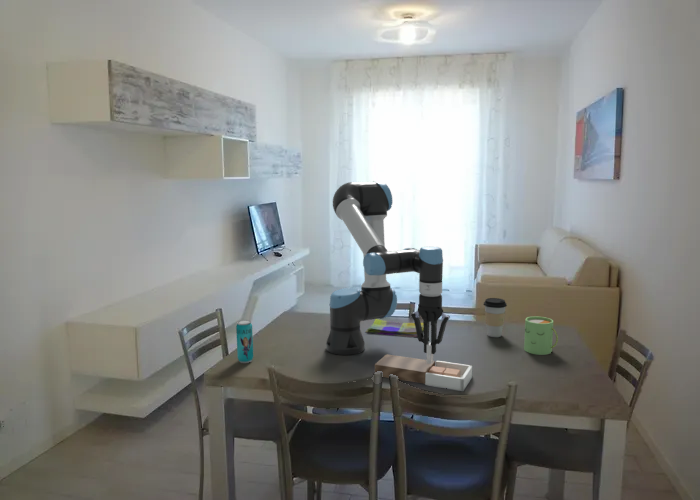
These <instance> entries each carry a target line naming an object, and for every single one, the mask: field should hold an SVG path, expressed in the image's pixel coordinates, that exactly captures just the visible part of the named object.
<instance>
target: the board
mask: <svg viewBox="0 0 700 500" xmlns="http://www.w3.org/2000/svg"><path fill="white" fill-rule="evenodd" d="M426 361H427V359H422V358H416V357H415V358H414V357H410V356H409V357H407V356H402V355H401V356H400V355H396V354H395V355H394V354H387V353H386V354H385V355H384V356H383V357H382V358H381V359H379V360H378V361H377V362H375V364H374V373H375V372H377V371H382V372H383V377H382V378H387V379H390V378H389V375H390V374H393V375H396V376H398V378H399V379H400V381H406V382H413V383H418V384H423V385H425V377H426V372H427V373H429V370H430V369H431V367H432V366H436V361H435V360H433V362H432V363H431V364H427V363H426ZM399 379H398V380H399Z"/></svg>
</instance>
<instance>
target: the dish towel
mask: <svg viewBox="0 0 700 500" xmlns="http://www.w3.org/2000/svg"><path fill="white" fill-rule="evenodd" d="M420 323H421V327H422V331H423V332H424V324H423V322H420ZM365 333H368V334H376V335H385V336H395V337H405V338H406V337H407V338H413V337H414V338H418V336H417V332H416V327H415V323H414V322H399V321H393V320H383V319H380V318H379V319H374V321H373V323H372V324H371V325H370V327H368V328H367V329H366V331H365Z"/></svg>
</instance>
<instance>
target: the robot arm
mask: <svg viewBox="0 0 700 500" xmlns="http://www.w3.org/2000/svg"><path fill="white" fill-rule="evenodd" d="M392 206H393V194H392V192H391V189H390V187H389V186H388V185H387V183H385V182H383V181H374V180H373V181H360V182H359V181H358V182H357V181H356V182H354V181H353V182H352V181H350V182H345V183H344V184H342V185H340V186H339V187H338V188H337V189H336V191H335V192H334V194H333V198H332V208H333V211H334V213H335V215H336V216H337V218H338V219H339V220H342V221H343V223H344V224H345V226H346V228H347V229H348V232H349V233H350V235H351V236H352V237H353V239H354V240H355V243H356V244H357V246H358V248H359V249H360V250H361V253H362V254H363V260H362V264H363V265H362V266H363V271H364V272H363V273H364V282H363V283H362V284H361V286H360V289H359V288H357V287H345V288H344V287H343V288H339V289H337V290H334V291H333V292H332V293H331V294H330V297H329V319H330V321H329V322H330V323H329V324H330V325H329V328H330V329H329V332H328V336H327V338H326V339H327V340H326V343H325V350H326V351H327V352H328V353H330V354H334V355H340V356H341V355H342V356H348V355H356V354H359V353H362V352H363V351H364V350H365V348H366V347H365V346H366V345H365V344H366V343H365V340H364V337H363V334H362V331H361V322H364V321H369V320H375V319H379V320H383V319H384V318H389V317H392V315H394V313H395V312H396V309H397V306H398V297H397V294H396V293H397V292H396V290H395V289H394V288H393V287H391V283H390V282H388V280H387V275H391V274H392V275H393V274H403V273H411V272H413V273H418V274H419V275H418V278H419V279H418V280H419V281H418V282H419V283H418V284H419V285H418V286H419V287H418V291H419V295H418V308H417V310H416V311H413V312H412V313H411V314H410V316H411V318H412V320H413V323H415V327H416V332H417V336H418V337H417V339H418V341H419V343H420V342H421V343H423V352H424V354H426V360H427V361H426V363H427V364H431V363H432V362H433V361H434V355H435V354H436V353H437V345H439V344H441V343H442V341H443V338H444V335H445V330H446V326H447V323H448V321H449V320H450V319H451V315H449V314H448V315H447V314H445V312H444V309H443V295H442V294H443V269H444V258H443V249H442V248H441V247H439V246H422V247H420V248H419V249H417V248H415V247H413V248H412V247H406V248H404V249H401V250H393V251H392V250H389V251H388V249H387V248H386V245H385V223H384V221H385V219H386V217H387V216H388V211H390V210H391V209H392ZM440 318H441V323H440V326H439V331H438V335H437V329H438V328H437V327H438V320H439V319H440ZM421 319H422V321H423V322H421ZM421 323H423V324H424V330H423V331H422V327H421ZM430 326H431V327H430Z"/></svg>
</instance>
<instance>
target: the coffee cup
mask: <svg viewBox="0 0 700 500" xmlns="http://www.w3.org/2000/svg"><path fill="white" fill-rule="evenodd" d="M483 306H484V309H485V311H484V316H485V317H484V318H485V326H486V335H487V336H488V337H492V338H499V337H502V335H503V328H504V323H505V316H506V307H507V306H508V305H507V302H506V300H505V299H503V298H498V297H490V298H485V300H484V302H483Z"/></svg>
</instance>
